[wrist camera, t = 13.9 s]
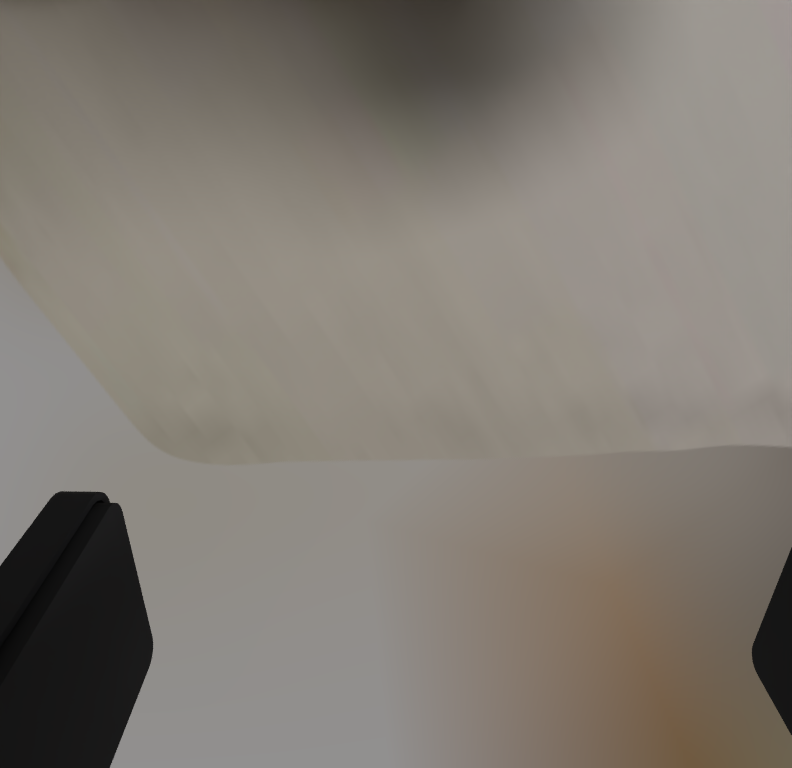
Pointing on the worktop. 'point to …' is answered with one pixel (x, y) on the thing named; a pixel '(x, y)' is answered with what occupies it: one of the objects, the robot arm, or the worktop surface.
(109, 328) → the worktop surface
